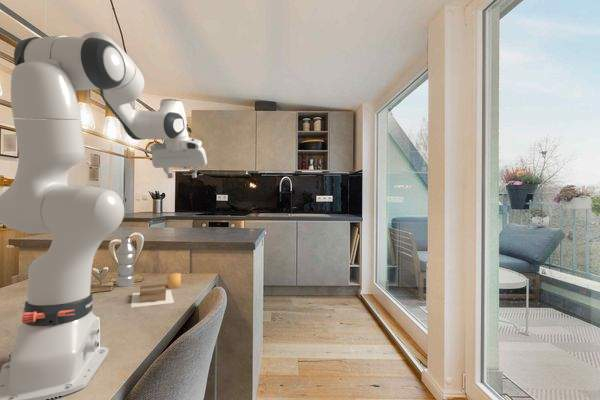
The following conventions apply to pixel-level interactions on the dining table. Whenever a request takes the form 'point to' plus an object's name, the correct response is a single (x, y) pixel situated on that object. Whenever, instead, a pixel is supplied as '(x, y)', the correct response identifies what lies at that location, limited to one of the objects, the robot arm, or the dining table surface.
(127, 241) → the plastic bottle
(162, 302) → the letter card
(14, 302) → the dining table surface
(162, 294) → the walnut block
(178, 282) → the orange cylinder
